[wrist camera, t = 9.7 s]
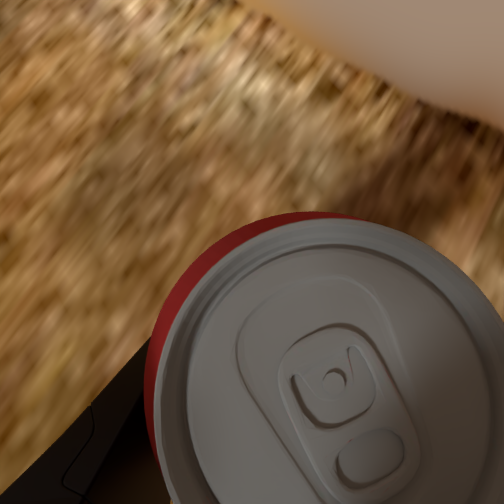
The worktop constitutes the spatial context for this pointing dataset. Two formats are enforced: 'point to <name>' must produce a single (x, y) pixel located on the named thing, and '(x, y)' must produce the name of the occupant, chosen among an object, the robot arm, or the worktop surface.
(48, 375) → the worktop surface
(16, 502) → the robot arm
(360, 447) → the beverage can
